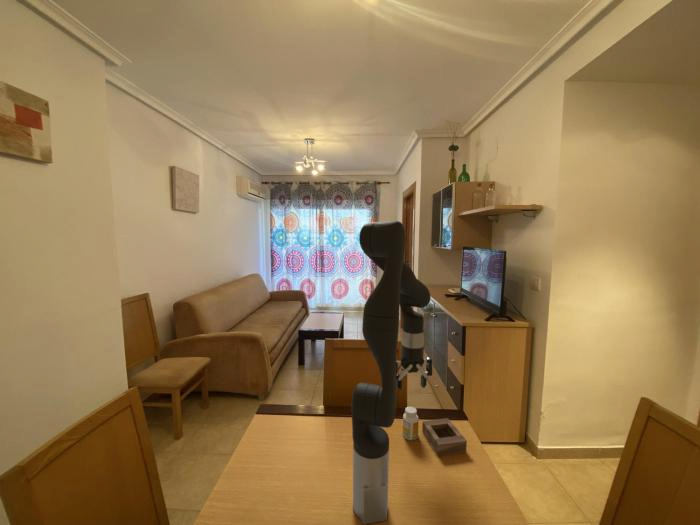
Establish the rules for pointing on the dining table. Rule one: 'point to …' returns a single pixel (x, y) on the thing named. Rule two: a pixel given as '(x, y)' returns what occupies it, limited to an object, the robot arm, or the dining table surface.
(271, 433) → the dining table surface
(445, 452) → the block
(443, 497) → the dining table surface
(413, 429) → the supplement bottle
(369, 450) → the robot arm
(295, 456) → the dining table surface
